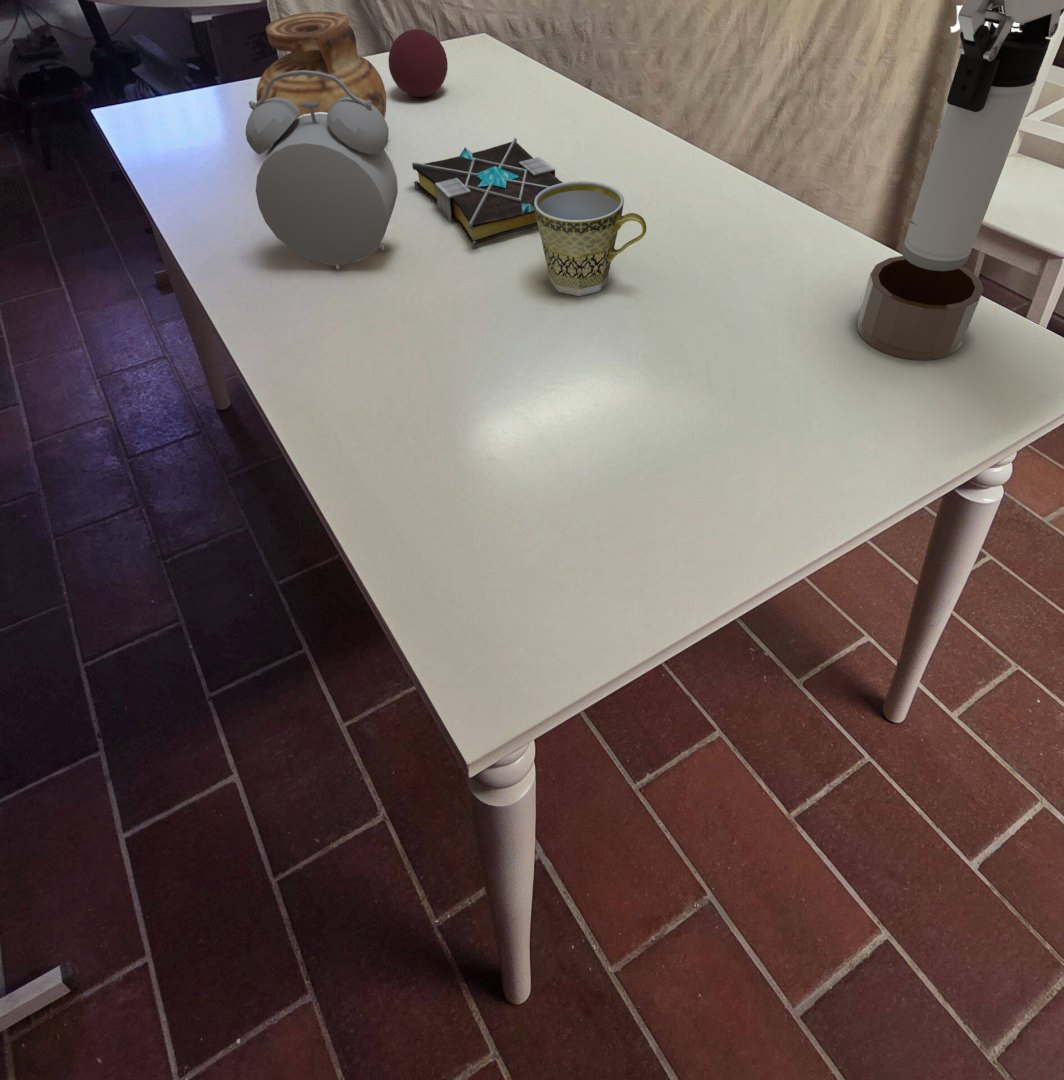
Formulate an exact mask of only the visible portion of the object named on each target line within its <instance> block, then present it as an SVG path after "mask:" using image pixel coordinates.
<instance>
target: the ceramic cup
mask: <svg viewBox="0 0 1064 1080" xmlns="http://www.w3.org/2000/svg"><path fill="white" fill-rule="evenodd" d="M624 203H625V199H624V196H623V194H622V193H621V192H620V191H619V190H618V189H617V188H614V187H613V186H611V185H608V184H606V183H601V182H597V181H590V180H589V181H588V180H574V181H567V182H566V181H564V182H563V183H560V184H556V185H553V186H550V187H548V188H546V189H544V190H543V191H541V192H540V193H539V194H538V195H537V196H536V198H535V201H534V207H535V214H536V219H537V224H538V227H537V229H538V233H539V236H540V240H541V243H542V249H543V255H544V259H545V263H546V268H547V269H546V270H547V273H548V277H549V282H550V284H552V286H553V287H554V288H555V289H556V291H557V292H558V293H561V294H565V295H566V294H567V295H572V296H576V297H583V296H586V295H590V294H594V293H599V292H601V290H603V288H604V287H605V285H606V284H607V283H608V279H609V273H610V269H611V264H612V262H613V260H614V259H615V257H616V256H617V255H619V254H621V253H622V252H624V251H625V250H626V249H627V248H629V247H630V246H631V245H634V244H635V243H637V242H639V241H640V240H642V239H643V237H644V236H645V235H646V232H647V222H646V221H645V219H644V217H643V216H642V215H640V214H638V213H635V212H629V213H626V214H624V215H623V210H624ZM631 221H633V222H636V223H639V224H640V225H641V229H642V231H641V233H640V234H639V235H638V236H637V237H635V238H632V239H631V240H629V241H627V242H626V243H625V244H623V245H622V246H621V247H620V248H618V249H616V248H615V246H616V241H617V237H618V233H619V231H620V229H621V228H622V226H623V225H624V224H625V223H628V222H631Z"/></svg>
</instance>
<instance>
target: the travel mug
mask: <svg viewBox="0 0 1064 1080" xmlns="http://www.w3.org/2000/svg"><path fill="white" fill-rule="evenodd" d="M989 32H990V36H991V38H992V36H993V34H994V32H995V30H990V29H989ZM1023 38H1024V36H1021V35H1017V34H1013V33H1012V32H1009V33H1008V35H1007V36H1006V38H1005V40H1004V42H1003V44H1002V46H1001V48H1000V50H999V52H998V53H997V55H996V57H995V58H996V59H1000V62H999V65H998V68H997V71H996V74H995V77H994V80H993V83H992V85H991V88H990V91H989V94H988V97H987V100H986V103H985V106H984V108H983V109H982V110H981V111H979V112H973V111H969V110H966V109H963V108H960V107H956V106H953V105H950V104H948V103H947V105H946V108H945V112H944V115H943V118H942V121H941V124H940V128H939V131H938V134H937V137H936V140H935V143H934V147H933V150H932V153H931V155H930V159H929V161H928V165H927V168H926V172H925V175H924V178H923V180H922V185H921V186H920V187H921V188H920V191H919V193H918V197H917V200H916V203H915V206H914V209H913V213H912V216H911V219H910V223H909V224H908V228H907V232H906V236H905V239H904V241H903V245H902V248H901V255H902V256H904V258H905V259H906V260H907V261H909V262H910V263H911V264H913V265H915V266H918V267H920V268H924V269H927V270H933V271H950V270H955V269H958V268H960V267H962V266H963V267H965V265H966V264H967V263H968V261H969V258H970V255H971V254H972V253H971V252H972V250H973V248H974V246H975V242H976V240H977V237H978V234H979V232H980V230H981V226H982V224H983V221H984V219H985V216H986V214H987V211H988V208H989V205H990V203H991V201H992V198H993V195H994V193H995V191H996V187H997V185H998V182H999V180H1000V177H1001V174H1002V172H1003V169H1004V166H1005V165H1006V161H1007V158H1008V156H1009V154H1010V150H1011V148H1012V146H1013V143H1014V141H1015V137H1016V135H1017V133H1018V129H1019V127H1020V125H1021V122H1022V119H1023V118H1024V114H1025V111H1026V109H1027V106H1028V103H1029V101H1030V98H1031V96H1032V93H1033V89H1034V87H1035V85H1036V83H1037V79H1038V75H1039V72H1040V70H1039V68H1040V69H1041V67H1042V65H1043V62H1044V60H1045V58H1046V54H1047V51H1048V49H1049V46H1047V44H1045V43H1043V42H1039V43H1035V42H1032V41H1029V40H1024V39H1023Z"/></svg>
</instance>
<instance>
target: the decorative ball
mask: <svg viewBox="0 0 1064 1080" xmlns="http://www.w3.org/2000/svg"><path fill="white" fill-rule="evenodd" d="M448 65H449V64H448V57H447V53H446V51H445V48H444V46H443V44H442V43H441V41H440V40H439V39H438V38H437V37H436V36H435V35H433V34H432V33H431V32H429V31H428V30H427V31H426V30H424V29H420V28H419V29H417V28H412V29H409V30H405V31H404V32H402V33H401V34H398V36H397V37H396V38H395V40H394V41H393V43H392V44H391V47H390V49H389V52H388V69H389V74H390V75H391V78H392V80H393V82H394V83H395V85H396V87H398V88H399V89H400V91H403V93H405V94H407V95H409V96H412V97H415V98H424V97H429V96H431V95H433V94H434V93H436V92H437V91H439V89H441V87H442V86H443V84H444V82H445V80H446V77H447V75H448V67H449V66H448Z"/></svg>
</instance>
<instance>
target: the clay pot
mask: <svg viewBox="0 0 1064 1080" xmlns="http://www.w3.org/2000/svg"><path fill="white" fill-rule="evenodd" d="M354 30H355V29H353V28H352V26H350V19H349V17H348V16H346V15H345V14H342V13H340V12H335V11H315V12H302V13H295V14H292V15H289V16H284V17H281V18H278V19H276V20H273V21H271V22H269V23H268V24H267V25H266V27H265V33H266V37H267V40H268V45H269V46H271V47H272V48H274V49H276V50H278V51H281V52H284V53H286V52H290V53H286V54H284V55H282V56H280V57H279V59H277V60H275V61H274V62H273V63H271V64H270V65H269V66H268V67H267V68H266V69H265V70H264V71H263V73H262V74H261V76H260V78H259V80H258V83H257V85H256V86H257V87H256V103H257V102H258V101H259V100H260V99H262V98H263V96H264V95H265V93H266V87H267V85H268V83H269V82H270V81H271V79H272V78H273V77H274V76H277V75H279V74H281V73H286V72H291V71H299V70H307V71H316V72H322V73H326V74H329V75H332V76H335V77H336V78H337V79H339V80H340V81H341V82H342V83H344V84H345V86H346V87H347V89H348V90H349V91H350V92H351V93H352V94H353V95H354V96H355V97H357V98H361V99H364V100H366V101H368V100H371V102H372V105H373V106H375V107H376V108H377V109H378V110H379V111H380V112H381V114H382V115H383V117H384V119H385V120H386V113H387V92H386V88H385V83H384V81H383V78H382V76H381V74H380V73H379V71H378V70H377V68H376V67H375V66H374V65H373V64H372V63H371V62H370V61H369V60H368V59H367V58H365V57H364V56H362V55H361V54H358V51H357V49H358V48H357V38H356V35H355V31H354ZM276 97H280V98H285V99H287V100H289V101H290V102H292V103H294V104H295V105H296V107H297V108H298V109H299V110H300V111H299V113H298V115H297V117H296V118H298V117H300V116H302V115H304V114H310V109H309V108H303V107H302V106H301V103H302V102H319V107H318V108H313V110H314V113H317V112H325V113H328V111H329V108H330V107H331V106H332V105H333V104H334V103H335V102H336V101H337V100H338V99H340V98H343V97H349V96H348V95H347V94H346V92H345V91H344V90H343V89H342V88H341V87H340V86H339V85H338V84H337V83H335V82H334V81H333V80H330V79H327V78H323V77H317V76H309V75H298V76H291V77H285V78H281V79H279V80H277V81H275V82H274V83H273V85H272V86H271V88H270V91H269V95H268V96H267V98H266V100H267V99H270V98H276ZM296 118H295V119H296Z"/></svg>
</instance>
